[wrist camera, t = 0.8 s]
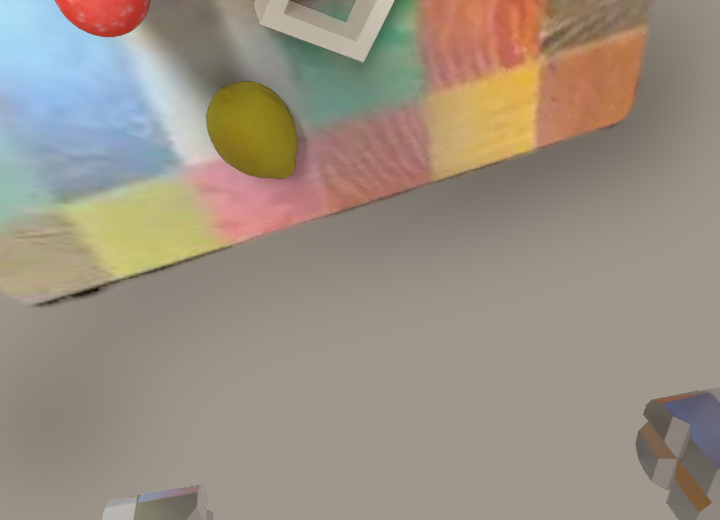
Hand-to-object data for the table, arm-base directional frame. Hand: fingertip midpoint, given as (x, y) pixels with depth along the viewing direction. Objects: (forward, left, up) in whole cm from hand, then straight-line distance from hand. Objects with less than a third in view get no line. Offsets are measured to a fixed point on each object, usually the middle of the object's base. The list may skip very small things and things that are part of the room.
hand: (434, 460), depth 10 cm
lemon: (+19, +10, -48) cm, 52 cm away
